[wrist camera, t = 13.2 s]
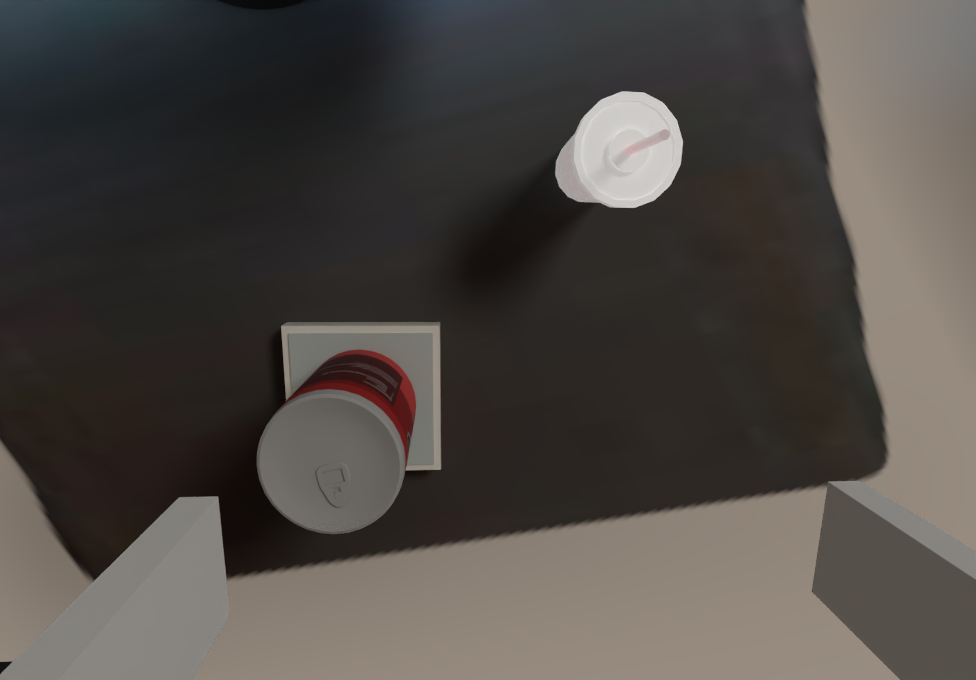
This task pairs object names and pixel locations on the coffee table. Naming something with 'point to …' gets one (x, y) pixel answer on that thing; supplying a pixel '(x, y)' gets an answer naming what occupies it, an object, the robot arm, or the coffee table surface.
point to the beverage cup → (621, 152)
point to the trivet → (395, 340)
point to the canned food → (340, 444)
